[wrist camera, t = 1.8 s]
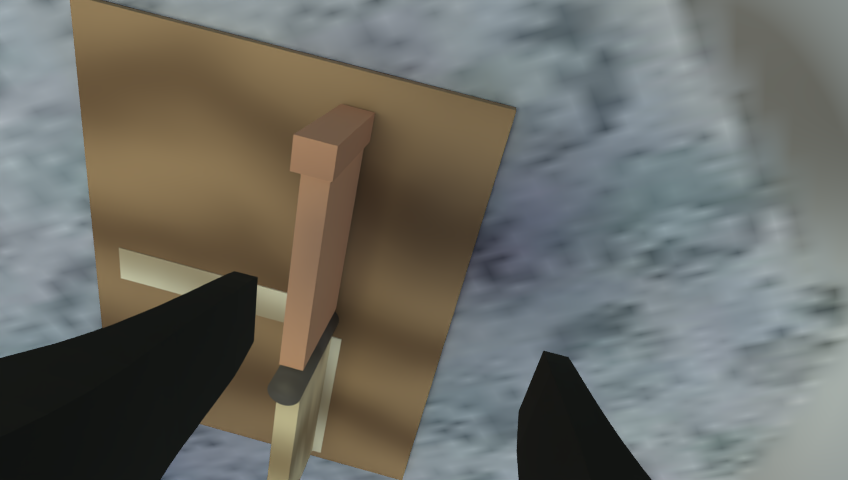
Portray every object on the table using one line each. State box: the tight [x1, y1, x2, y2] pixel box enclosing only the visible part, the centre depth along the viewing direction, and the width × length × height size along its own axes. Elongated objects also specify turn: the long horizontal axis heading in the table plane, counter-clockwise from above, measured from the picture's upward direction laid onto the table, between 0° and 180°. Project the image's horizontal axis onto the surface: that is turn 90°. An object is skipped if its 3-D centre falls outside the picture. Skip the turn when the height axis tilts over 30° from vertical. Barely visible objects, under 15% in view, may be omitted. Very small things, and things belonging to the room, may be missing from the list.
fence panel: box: [279, 104, 375, 371], centre depth 19 cm, size 10×1×5 cm, turn 167°
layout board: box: [70, 0, 516, 480], centre depth 24 cm, size 22×18×1 cm
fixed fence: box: [267, 312, 339, 480], centre depth 24 cm, size 10×1×5 cm, turn 167°
